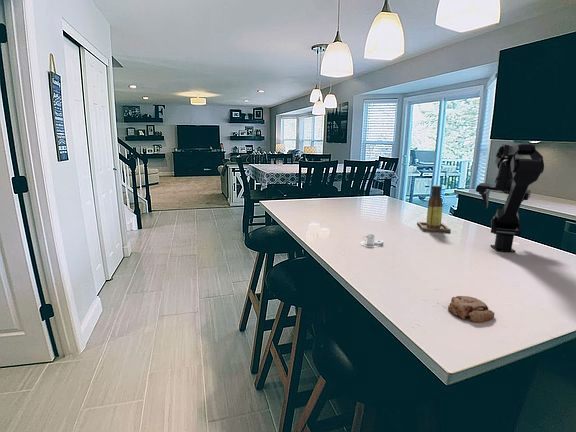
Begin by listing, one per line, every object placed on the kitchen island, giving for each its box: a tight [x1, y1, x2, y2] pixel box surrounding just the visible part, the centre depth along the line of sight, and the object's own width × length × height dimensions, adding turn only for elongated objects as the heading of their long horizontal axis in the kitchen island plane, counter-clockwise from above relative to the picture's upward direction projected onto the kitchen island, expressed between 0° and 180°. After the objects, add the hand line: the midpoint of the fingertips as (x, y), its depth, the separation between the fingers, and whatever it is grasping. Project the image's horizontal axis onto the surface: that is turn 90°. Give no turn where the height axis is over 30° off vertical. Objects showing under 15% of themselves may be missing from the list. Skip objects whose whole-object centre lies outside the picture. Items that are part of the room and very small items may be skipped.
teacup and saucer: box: [359, 233, 385, 248], centre depth 134 cm, size 9×8×4 cm
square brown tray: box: [416, 221, 451, 234], centre depth 160 cm, size 12×12×2 cm
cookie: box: [447, 295, 495, 323], centre depth 82 cm, size 10×11×3 cm
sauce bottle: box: [426, 184, 443, 228], centre depth 157 cm, size 6×6×20 cm
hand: (498, 210), depth 143 cm, fingers open, 9 cm apart
